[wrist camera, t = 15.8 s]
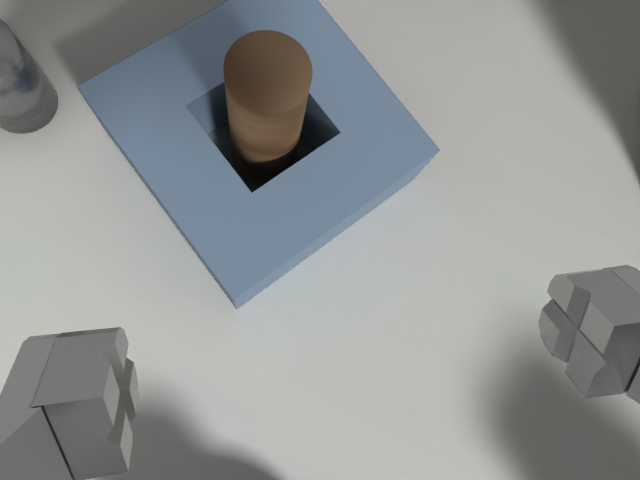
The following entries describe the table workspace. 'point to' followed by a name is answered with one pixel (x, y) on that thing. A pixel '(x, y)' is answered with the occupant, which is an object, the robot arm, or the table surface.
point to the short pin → (22, 88)
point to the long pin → (266, 101)
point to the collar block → (211, 113)
